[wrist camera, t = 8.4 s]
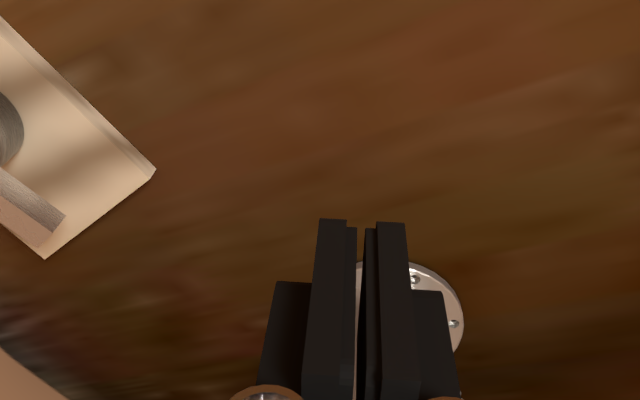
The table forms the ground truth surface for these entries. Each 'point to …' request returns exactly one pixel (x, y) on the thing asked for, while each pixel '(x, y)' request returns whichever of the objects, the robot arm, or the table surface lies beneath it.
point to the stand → (64, 144)
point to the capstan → (21, 186)
